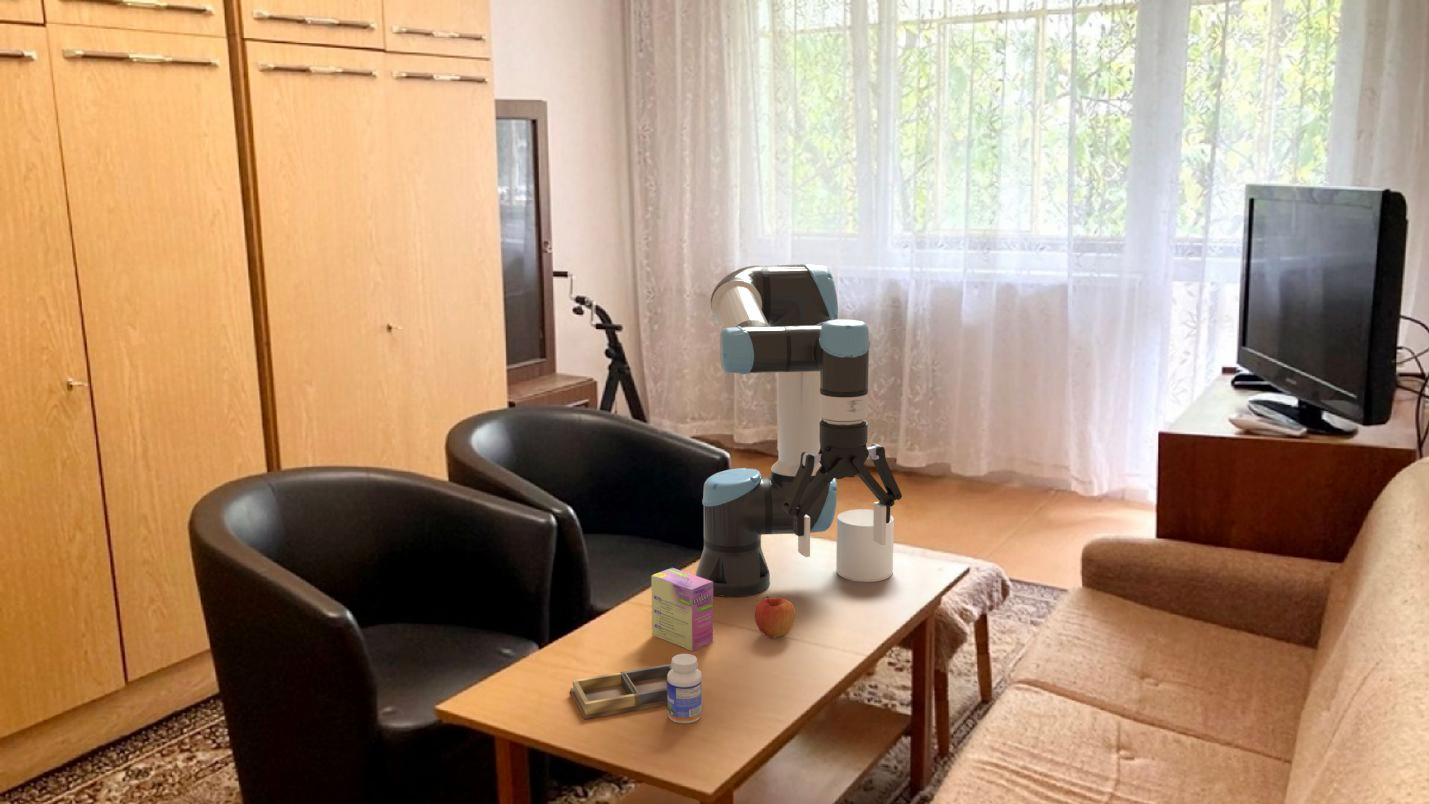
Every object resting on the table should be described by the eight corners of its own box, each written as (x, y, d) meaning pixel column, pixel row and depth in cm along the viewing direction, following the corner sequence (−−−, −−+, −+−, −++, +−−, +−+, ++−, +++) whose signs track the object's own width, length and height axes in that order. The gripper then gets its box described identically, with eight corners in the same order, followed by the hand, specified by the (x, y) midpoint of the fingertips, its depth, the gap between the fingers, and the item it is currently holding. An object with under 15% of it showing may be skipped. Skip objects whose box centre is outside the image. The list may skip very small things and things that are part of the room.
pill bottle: (667, 708, 182) (665, 652, 180) (700, 707, 182) (699, 650, 180) (668, 725, 176) (667, 667, 174) (703, 723, 177) (702, 665, 175)
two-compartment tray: (584, 719, 179) (584, 706, 178) (570, 691, 188) (569, 678, 188) (691, 700, 184) (691, 688, 184) (671, 673, 194) (671, 661, 193)
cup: (896, 582, 233) (897, 526, 231) (839, 582, 234) (839, 526, 231) (888, 561, 245) (889, 508, 242) (834, 562, 245) (834, 508, 243)
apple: (802, 638, 207) (803, 597, 205) (769, 648, 203) (768, 606, 202) (780, 624, 213) (780, 584, 211) (747, 633, 210) (746, 592, 208)
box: (714, 642, 206) (713, 580, 204) (692, 652, 202) (691, 589, 200) (673, 626, 213) (672, 566, 211) (651, 636, 209) (650, 575, 207)
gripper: (781, 432, 171) (781, 567, 175) (925, 416, 180) (921, 544, 184) (761, 422, 177) (761, 551, 182) (900, 407, 186) (897, 531, 191)
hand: (842, 548), depth 183 cm, fingers open, 13 cm apart
